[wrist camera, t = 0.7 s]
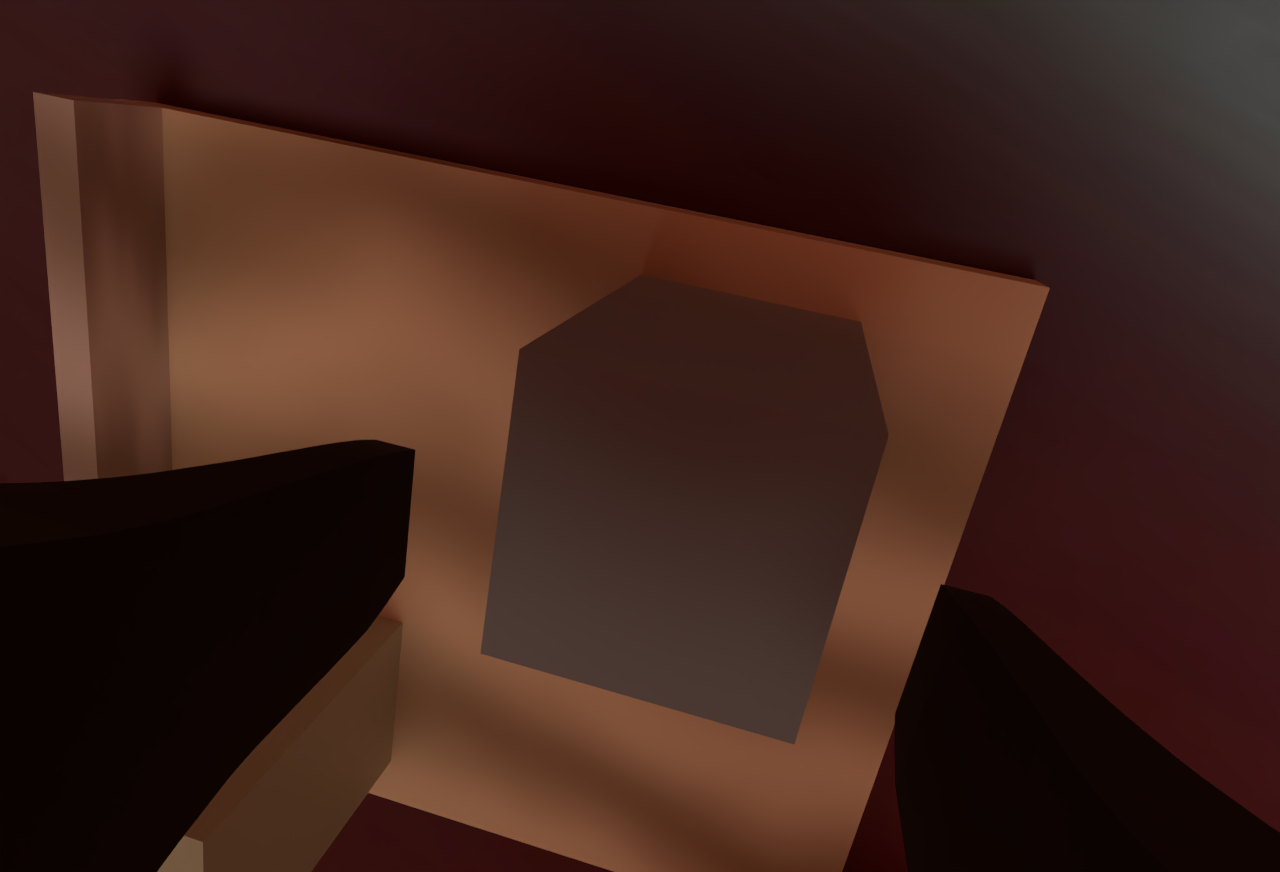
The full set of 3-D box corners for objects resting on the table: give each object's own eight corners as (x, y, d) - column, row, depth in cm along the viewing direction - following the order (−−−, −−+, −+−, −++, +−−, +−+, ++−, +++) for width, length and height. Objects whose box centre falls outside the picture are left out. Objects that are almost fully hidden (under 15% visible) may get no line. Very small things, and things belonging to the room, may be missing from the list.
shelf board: (819, 902, 24) (818, 1022, 21) (171, 698, 28) (78, 774, 24) (1035, 280, 18) (1086, 307, 14) (151, 101, 21) (20, 89, 17)
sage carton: (390, 760, 25) (206, 1017, 17) (237, 713, 25) (-3, 939, 18) (402, 622, 23) (203, 842, 16) (238, 575, 24) (-28, 763, 16)
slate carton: (802, 530, 20) (791, 755, 12) (604, 480, 20) (478, 664, 13) (861, 321, 18) (888, 435, 10) (641, 274, 18) (519, 349, 11)
